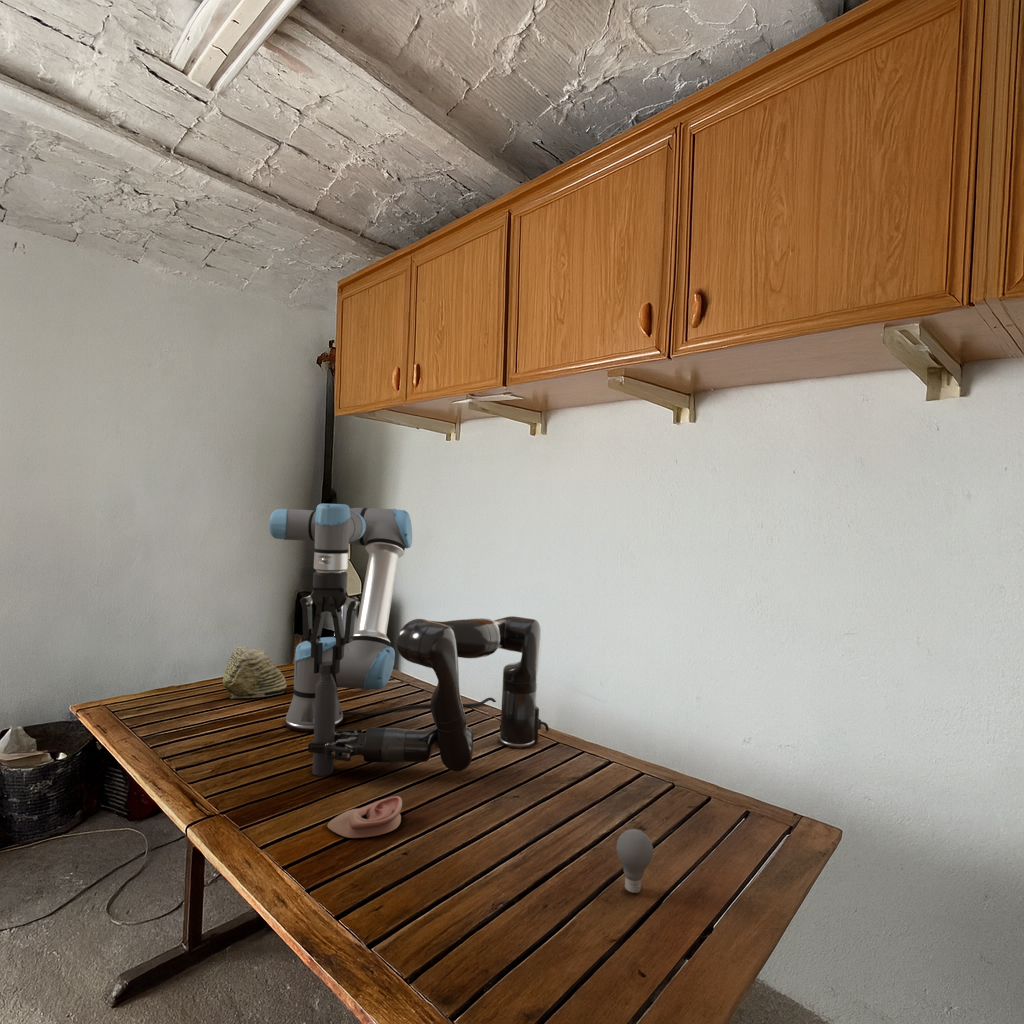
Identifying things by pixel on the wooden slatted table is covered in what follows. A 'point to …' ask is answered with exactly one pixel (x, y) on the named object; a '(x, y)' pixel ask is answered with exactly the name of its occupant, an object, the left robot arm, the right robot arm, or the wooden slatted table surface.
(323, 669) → the cap
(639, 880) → the light bulb
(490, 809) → the wooden slatted table surface
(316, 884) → the wooden slatted table surface
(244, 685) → the fossil
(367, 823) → the anatomical model
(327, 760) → the bottle
